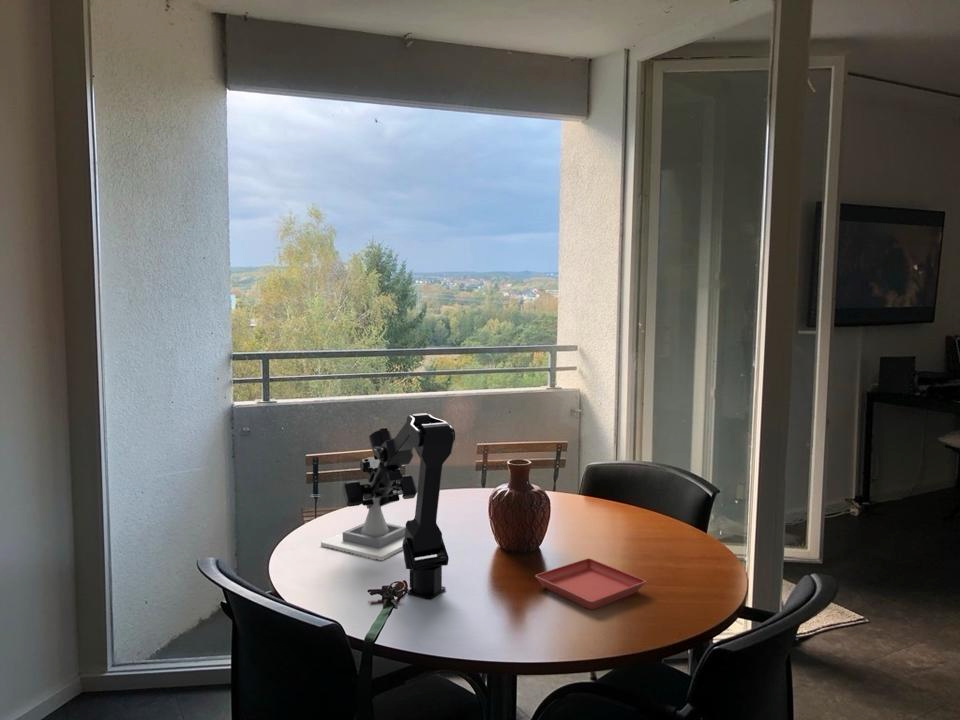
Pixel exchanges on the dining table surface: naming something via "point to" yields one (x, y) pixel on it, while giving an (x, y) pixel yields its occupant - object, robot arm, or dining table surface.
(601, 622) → the dining table surface
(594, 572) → the plant saucer
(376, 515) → the flask
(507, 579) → the dining table surface
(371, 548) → the collar board
